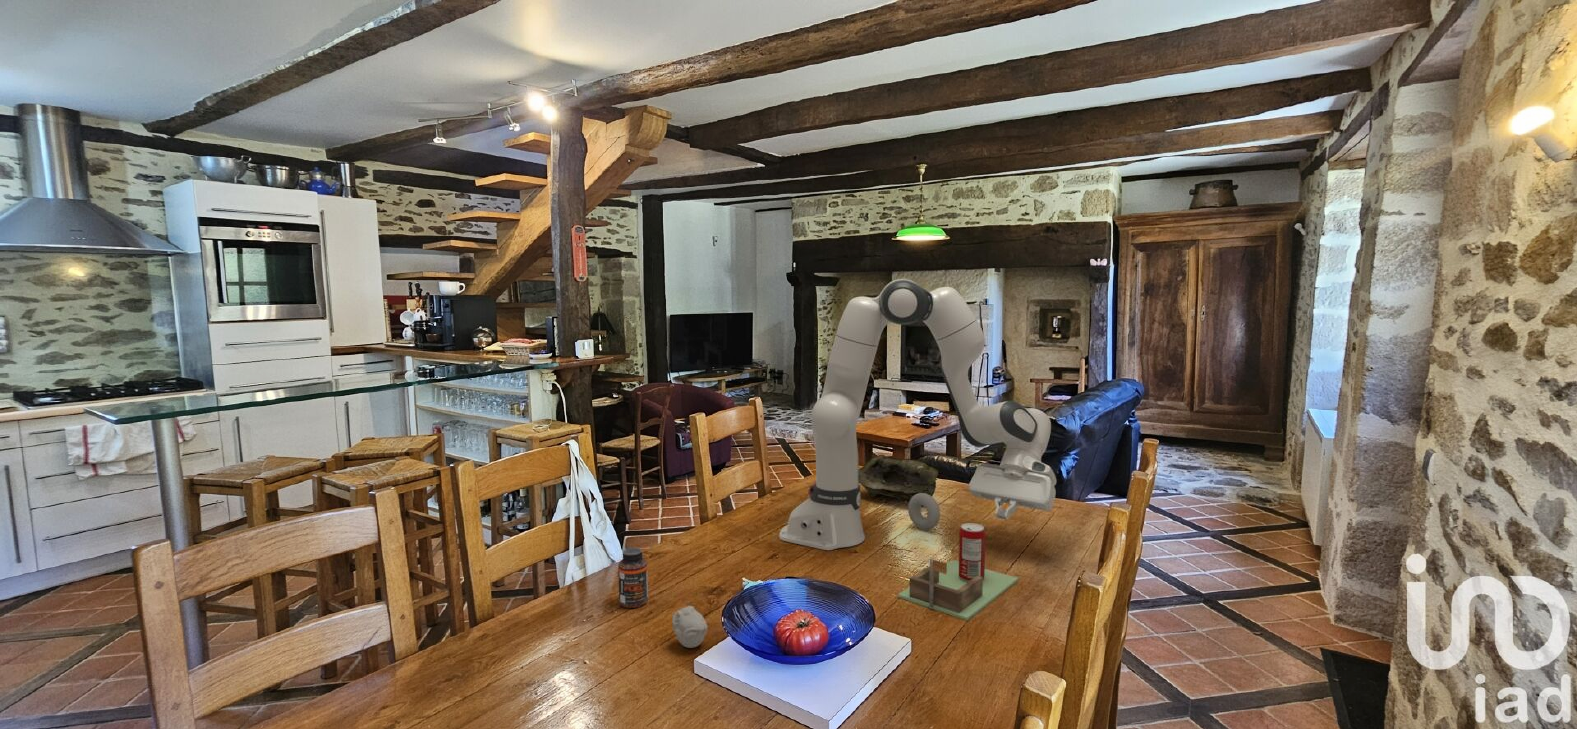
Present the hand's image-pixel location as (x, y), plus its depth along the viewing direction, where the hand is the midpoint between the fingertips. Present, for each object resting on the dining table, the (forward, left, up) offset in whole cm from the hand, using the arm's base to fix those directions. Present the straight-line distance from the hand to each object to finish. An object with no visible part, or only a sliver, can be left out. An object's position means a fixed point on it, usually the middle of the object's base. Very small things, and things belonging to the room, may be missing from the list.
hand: (1001, 517), depth 160 cm
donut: (-21, +15, -11) cm, 28 cm away
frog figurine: (-50, -60, -11) cm, 79 cm away
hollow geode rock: (-33, +37, -11) cm, 51 cm away
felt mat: (-7, -19, -11) cm, 23 cm away
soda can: (-5, -14, -10) cm, 18 cm away
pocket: (-9, -25, -10) cm, 29 cm away
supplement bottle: (-70, -49, -11) cm, 86 cm away
